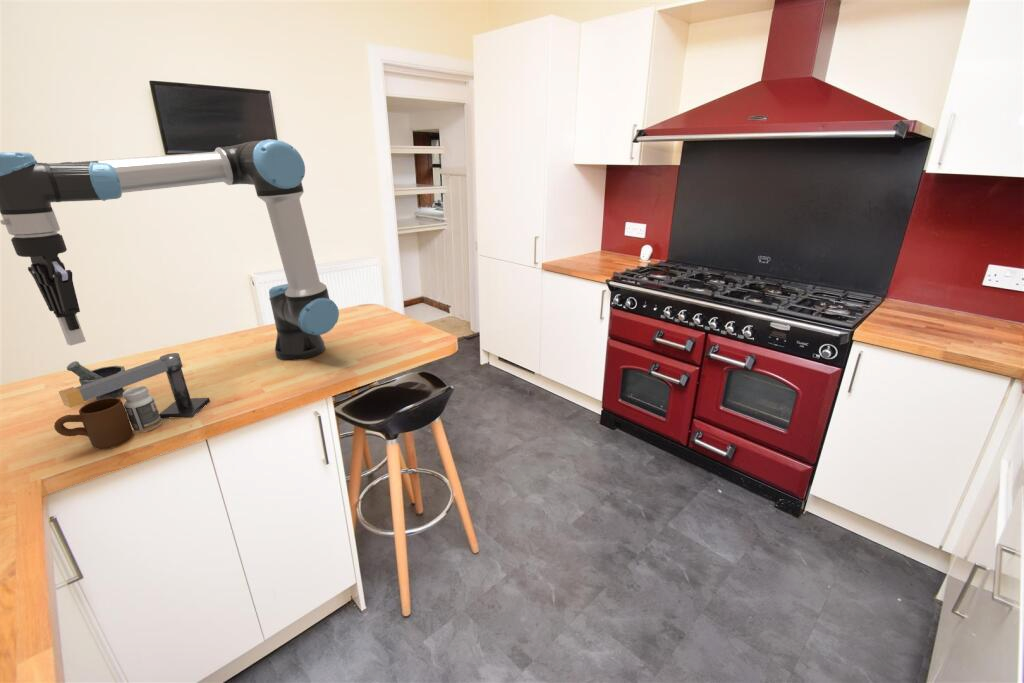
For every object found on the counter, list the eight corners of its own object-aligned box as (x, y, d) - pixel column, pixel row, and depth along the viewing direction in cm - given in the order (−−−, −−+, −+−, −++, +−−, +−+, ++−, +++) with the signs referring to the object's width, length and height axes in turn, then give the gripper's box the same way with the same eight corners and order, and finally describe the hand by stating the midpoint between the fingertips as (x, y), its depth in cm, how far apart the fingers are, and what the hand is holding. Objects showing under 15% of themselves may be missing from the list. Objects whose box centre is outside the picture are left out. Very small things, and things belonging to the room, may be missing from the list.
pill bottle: (164, 418, 116) (152, 383, 113) (158, 430, 111) (146, 393, 108) (137, 423, 114) (124, 387, 111) (130, 435, 109) (116, 398, 106)
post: (210, 401, 124) (199, 362, 120) (193, 417, 117) (180, 375, 112) (179, 402, 124) (166, 363, 119) (160, 418, 116) (146, 376, 112)
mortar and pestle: (124, 384, 134) (110, 346, 130) (139, 392, 129) (125, 353, 125) (75, 401, 125) (58, 360, 121) (88, 410, 121) (71, 368, 116)
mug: (67, 463, 99) (50, 425, 96) (66, 448, 105) (50, 412, 101) (136, 441, 107) (123, 405, 104) (132, 428, 112) (119, 393, 109)
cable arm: (176, 363, 118) (173, 352, 117) (186, 366, 117) (182, 354, 115) (62, 404, 99) (57, 391, 98) (72, 408, 97) (66, 395, 96)
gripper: (-4, 235, 93) (41, 343, 102) (26, 239, 88) (70, 354, 97) (44, 230, 100) (82, 333, 108) (74, 234, 94) (112, 342, 103)
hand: (76, 342), depth 102 cm, fingers closed
